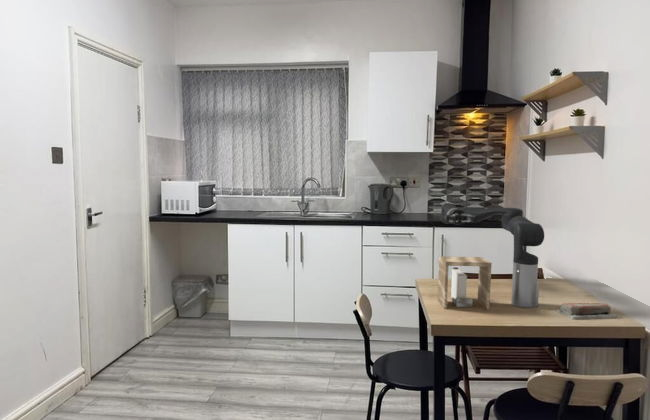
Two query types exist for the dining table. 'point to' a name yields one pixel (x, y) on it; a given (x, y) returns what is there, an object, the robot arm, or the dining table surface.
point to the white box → (458, 284)
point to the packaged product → (586, 311)
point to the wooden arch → (483, 281)
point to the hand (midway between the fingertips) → (464, 219)
